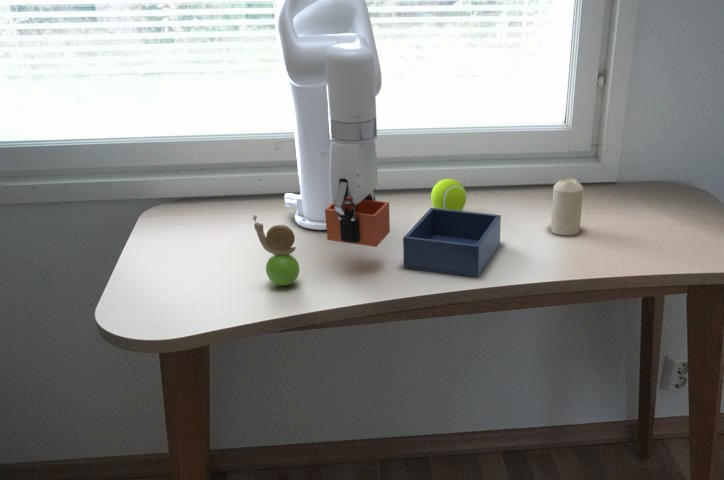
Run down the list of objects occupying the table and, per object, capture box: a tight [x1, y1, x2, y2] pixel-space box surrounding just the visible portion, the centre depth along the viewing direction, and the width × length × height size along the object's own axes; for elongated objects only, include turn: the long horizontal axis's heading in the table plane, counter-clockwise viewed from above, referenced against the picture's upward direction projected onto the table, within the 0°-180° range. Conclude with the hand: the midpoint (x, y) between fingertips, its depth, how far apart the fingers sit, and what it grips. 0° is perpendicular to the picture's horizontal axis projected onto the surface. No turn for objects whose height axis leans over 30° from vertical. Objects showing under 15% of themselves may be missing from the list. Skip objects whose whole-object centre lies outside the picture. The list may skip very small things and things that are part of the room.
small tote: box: [325, 197, 391, 248], centre depth 142 cm, size 9×6×6 cm
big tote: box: [402, 207, 502, 278], centre depth 148 cm, size 13×15×6 cm
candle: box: [550, 176, 584, 236], centre depth 157 cm, size 6×6×10 cm
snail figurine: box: [252, 214, 300, 287], centre depth 136 cm, size 5×6×12 cm
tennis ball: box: [430, 178, 467, 211], centre depth 165 cm, size 7×7×7 cm
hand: (358, 232), depth 143 cm, fingers closed on small tote, 6 cm apart
